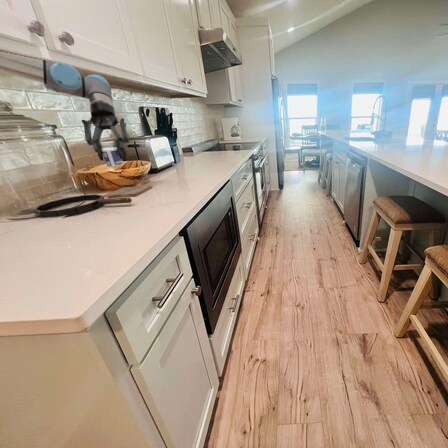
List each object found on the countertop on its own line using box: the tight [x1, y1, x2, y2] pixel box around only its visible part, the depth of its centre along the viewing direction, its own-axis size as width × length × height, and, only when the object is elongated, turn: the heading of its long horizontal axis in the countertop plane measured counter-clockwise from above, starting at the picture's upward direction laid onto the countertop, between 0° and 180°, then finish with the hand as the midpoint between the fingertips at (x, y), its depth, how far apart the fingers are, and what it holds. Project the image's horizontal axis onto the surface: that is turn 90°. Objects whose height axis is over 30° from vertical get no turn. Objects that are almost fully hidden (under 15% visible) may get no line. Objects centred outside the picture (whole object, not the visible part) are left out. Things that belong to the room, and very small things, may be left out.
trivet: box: [103, 185, 153, 199], centre depth 97 cm, size 12×12×1 cm
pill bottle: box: [100, 140, 125, 168], centre depth 90 cm, size 5×5×9 cm
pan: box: [33, 194, 133, 219], centre depth 80 cm, size 28×17×3 cm, turn 93°
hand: (110, 157), depth 87 cm, fingers closed on pill bottle, 5 cm apart
